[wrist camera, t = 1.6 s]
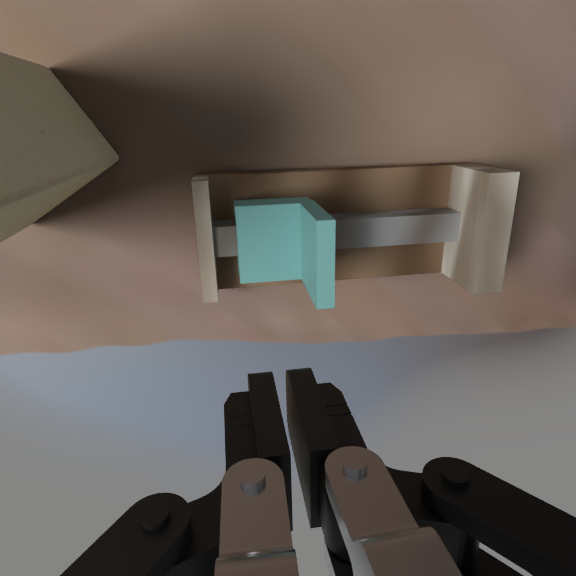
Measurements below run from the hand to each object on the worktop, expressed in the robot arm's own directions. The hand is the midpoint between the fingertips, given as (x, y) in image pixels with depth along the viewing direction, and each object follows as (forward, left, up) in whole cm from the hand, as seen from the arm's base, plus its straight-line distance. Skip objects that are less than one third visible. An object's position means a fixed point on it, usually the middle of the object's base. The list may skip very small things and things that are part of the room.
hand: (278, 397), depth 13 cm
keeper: (-2, +1, -20) cm, 20 cm away
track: (-5, +5, -21) cm, 22 cm away
